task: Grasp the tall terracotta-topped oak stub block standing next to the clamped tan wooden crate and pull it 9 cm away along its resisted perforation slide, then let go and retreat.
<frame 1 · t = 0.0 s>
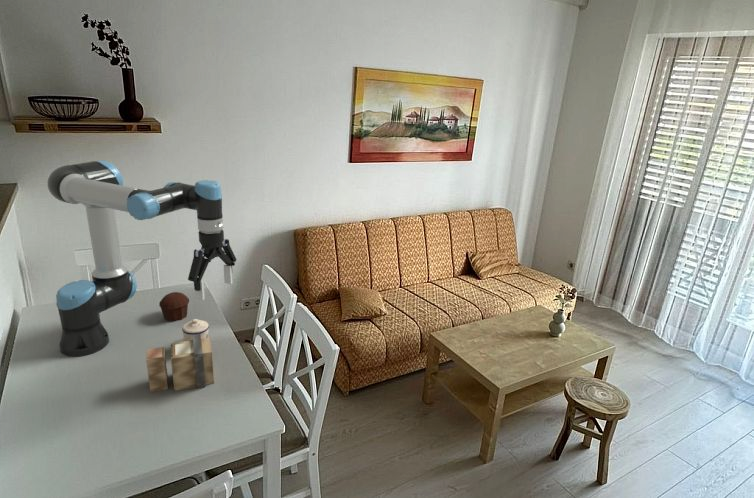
hand: (215, 290, 151), 28 cm above the table, fingers open, 13 cm apart
teacup with lid: (197, 345, 170), on the table
stub: (157, 369, 145), point 6 cm above the table, slide at 0.0 cm
tan wooden crate: (193, 378, 151), on the table
muffin: (175, 316, 189), on the table
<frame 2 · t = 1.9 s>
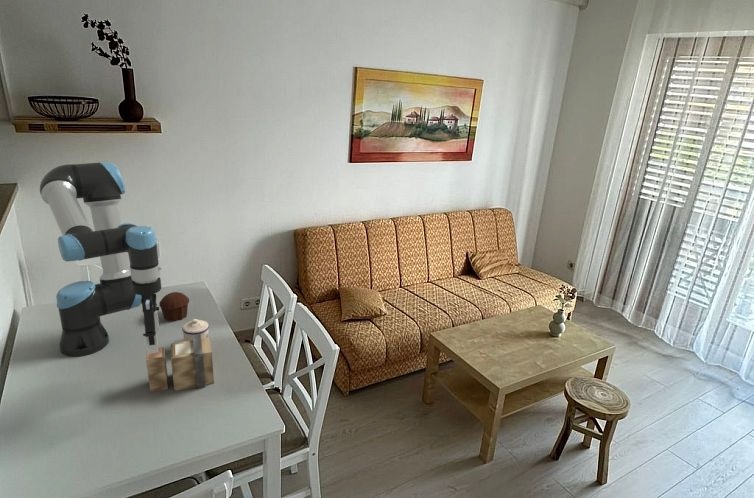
hand: (154, 341, 141), 16 cm above the table, fingers open, 13 cm apart
nothing on the table moved.
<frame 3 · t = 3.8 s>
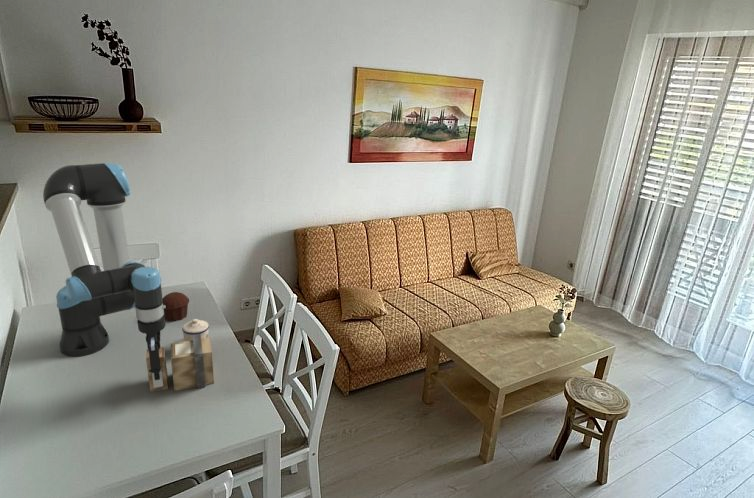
hand: (158, 380, 146), 2 cm above the table, fingers closed on stub, 6 cm apart
stub: (157, 369, 145), point 6 cm above the table, slide at 0.0 cm, touching gripper
everything else where it was.
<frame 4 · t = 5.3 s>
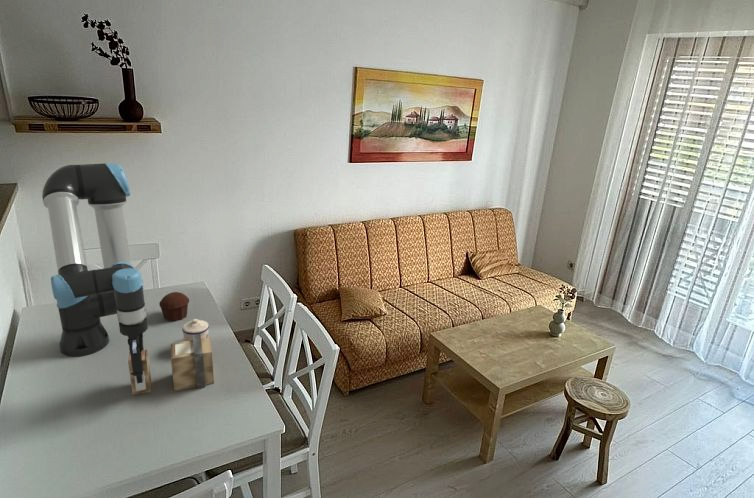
hand: (141, 383, 145), 2 cm above the table, fingers closed on stub, 6 cm apart
stub: (140, 372, 143), point 6 cm above the table, slide at 4.9 cm, touching gripper
everything else where it was.
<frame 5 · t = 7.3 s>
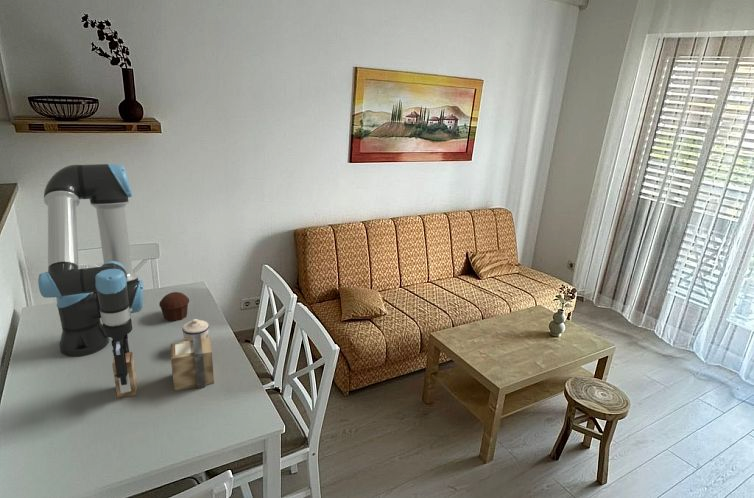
hand: (126, 384, 143), 2 cm above the table, fingers closed on stub, 6 cm apart
stub: (125, 374, 141), point 6 cm above the table, slide at 9.1 cm, touching gripper
everything else where it was.
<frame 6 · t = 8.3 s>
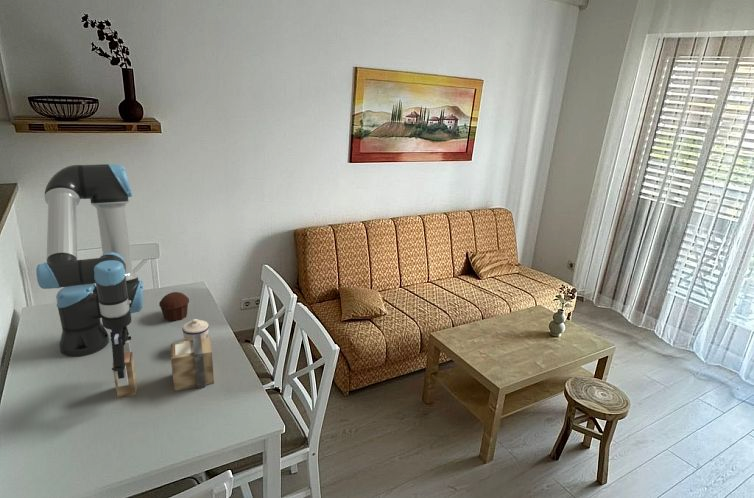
hand: (125, 371, 142), 7 cm above the table, fingers open, 13 cm apart
stub: (125, 374, 141), point 6 cm above the table, slide at 9.1 cm
everything else where it was.
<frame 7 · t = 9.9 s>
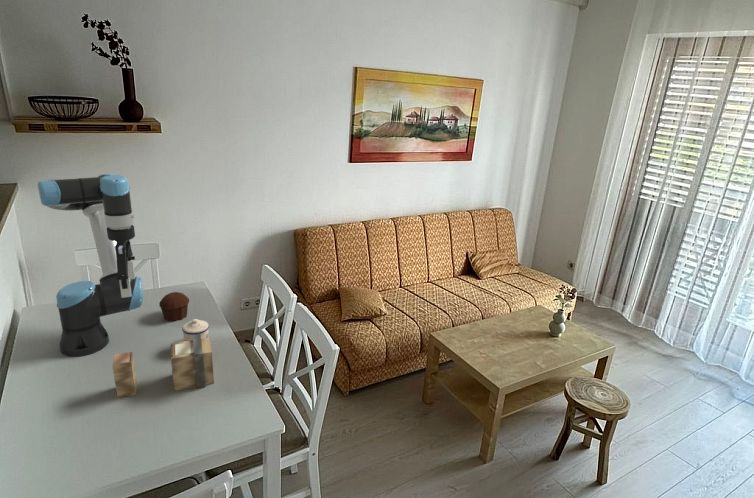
hand: (128, 287, 149), 28 cm above the table, fingers open, 13 cm apart
nothing on the table moved.
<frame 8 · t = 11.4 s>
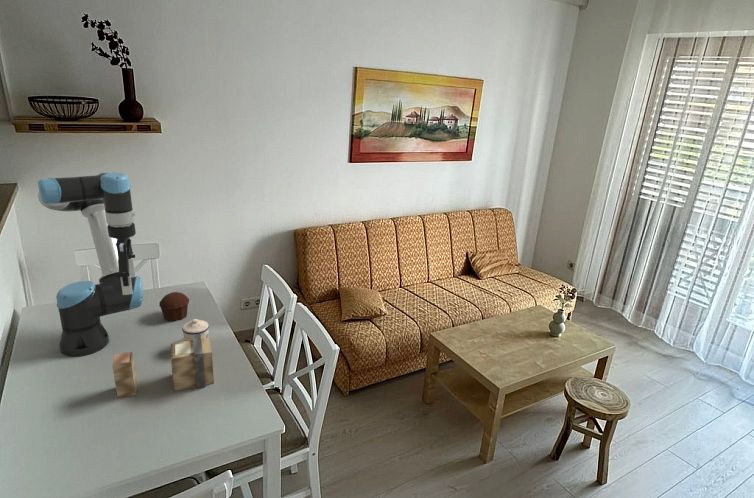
hand: (129, 285, 149), 29 cm above the table, fingers open, 13 cm apart
nothing on the table moved.
at the end: stub slide at 9.1 cm; the gripper is holding nothing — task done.
